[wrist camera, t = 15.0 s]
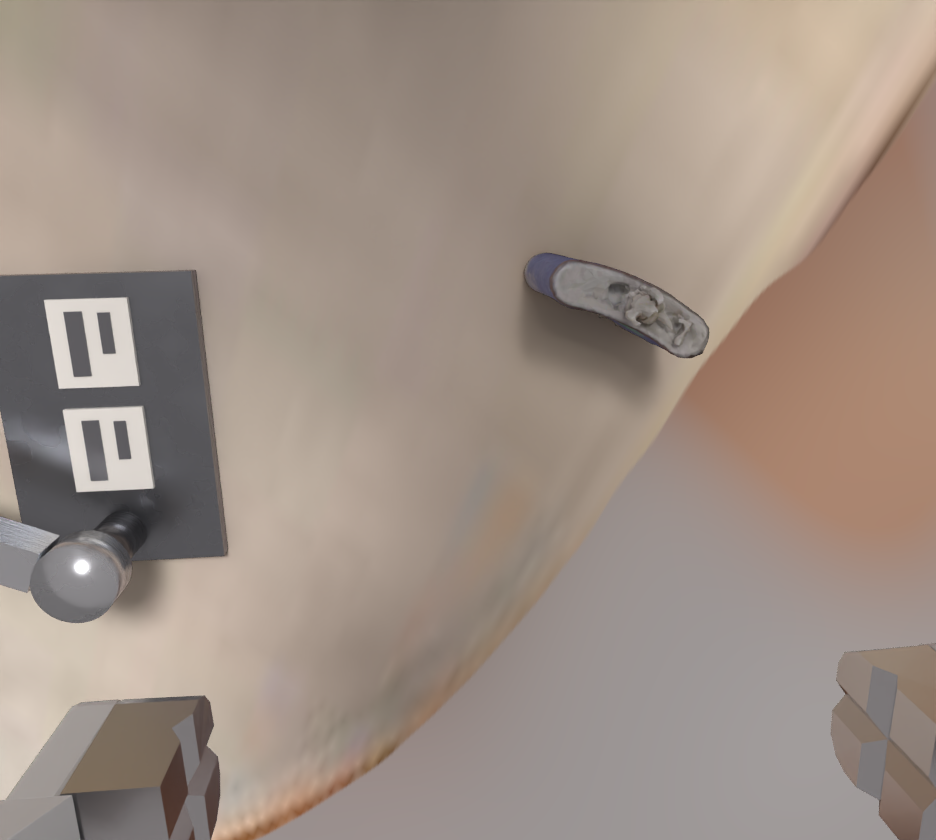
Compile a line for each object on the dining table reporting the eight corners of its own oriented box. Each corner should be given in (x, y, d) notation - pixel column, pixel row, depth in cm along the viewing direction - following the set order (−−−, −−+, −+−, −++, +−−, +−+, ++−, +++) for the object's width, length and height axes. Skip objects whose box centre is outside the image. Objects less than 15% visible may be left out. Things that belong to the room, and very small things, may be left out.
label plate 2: (64, 408, 43) (61, 410, 43) (143, 405, 44) (141, 407, 43) (78, 490, 45) (75, 492, 44) (155, 486, 45) (153, 489, 45)
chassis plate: (-16, 275, 42) (-26, 276, 41) (195, 270, 43) (190, 270, 42) (38, 559, 47) (30, 566, 46) (227, 549, 48) (224, 555, 47)
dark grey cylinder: (97, 512, 45) (64, 542, 41) (143, 510, 45) (115, 539, 41) (104, 553, 46) (72, 587, 42) (149, 551, 46) (122, 584, 42)
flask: (516, 283, 45) (550, 299, 34) (536, 238, 44) (577, 241, 34) (645, 341, 46) (715, 373, 36) (666, 299, 46) (743, 319, 36)
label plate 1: (46, 299, 42) (43, 300, 41) (128, 297, 42) (125, 297, 42) (61, 387, 43) (58, 389, 43) (140, 384, 43) (138, 386, 43)
